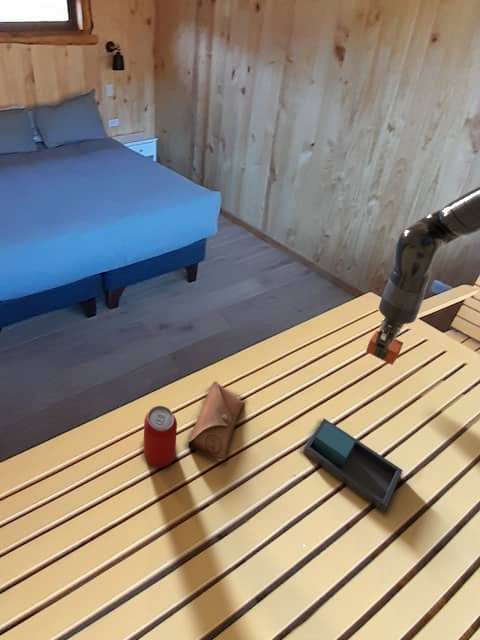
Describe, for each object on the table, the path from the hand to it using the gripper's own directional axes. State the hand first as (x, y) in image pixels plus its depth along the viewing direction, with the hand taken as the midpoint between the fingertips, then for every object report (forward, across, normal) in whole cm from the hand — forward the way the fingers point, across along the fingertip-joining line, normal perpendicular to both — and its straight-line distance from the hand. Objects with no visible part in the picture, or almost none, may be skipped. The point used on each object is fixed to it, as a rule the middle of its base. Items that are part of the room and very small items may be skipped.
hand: (382, 351), depth 102 cm
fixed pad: (+6, -30, -1) cm, 31 cm away
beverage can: (+7, -57, +24) cm, 63 cm away
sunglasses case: (+7, -42, +19) cm, 47 cm away
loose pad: (+1, 0, 0) cm, 1 cm away
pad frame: (+7, -30, -5) cm, 31 cm away
